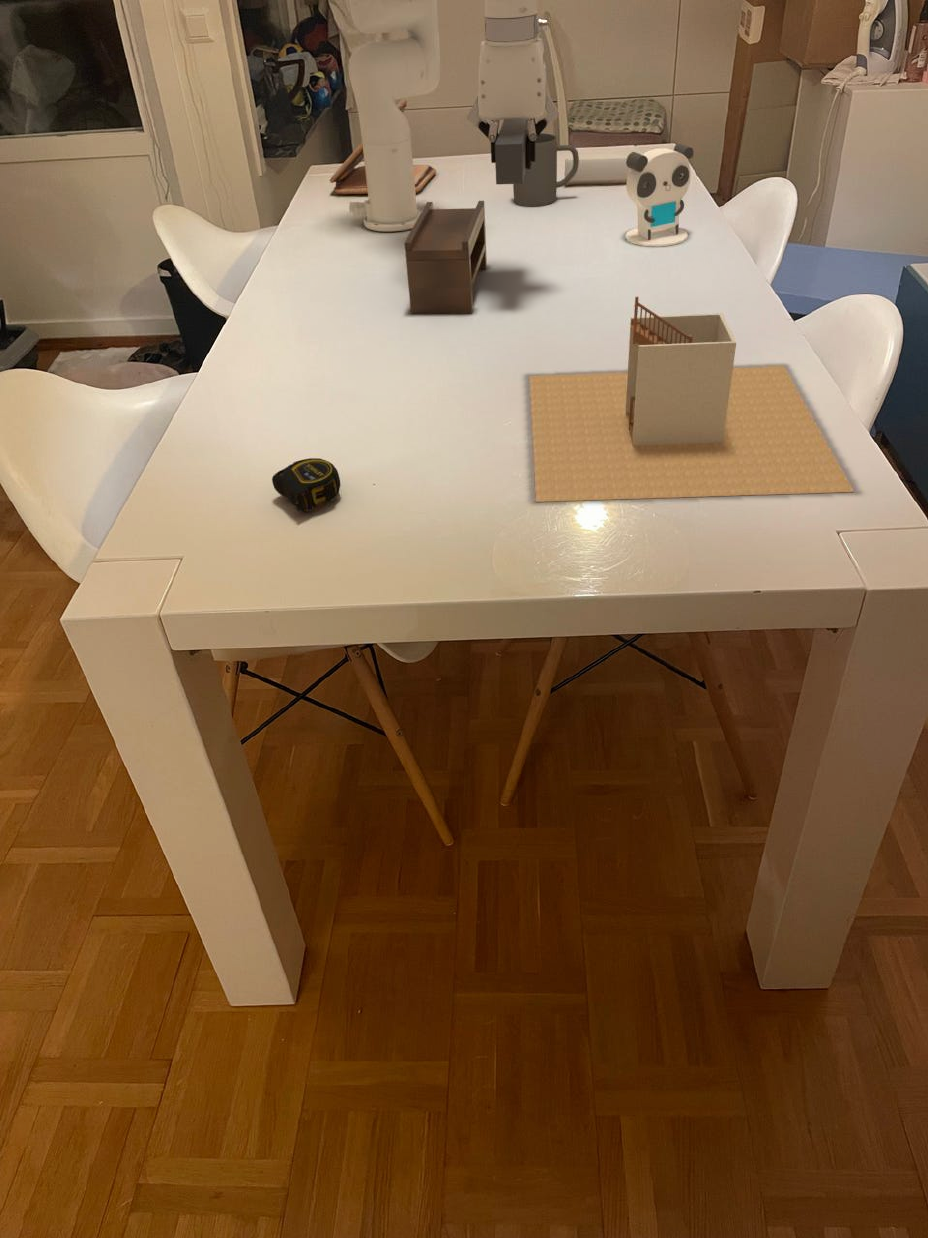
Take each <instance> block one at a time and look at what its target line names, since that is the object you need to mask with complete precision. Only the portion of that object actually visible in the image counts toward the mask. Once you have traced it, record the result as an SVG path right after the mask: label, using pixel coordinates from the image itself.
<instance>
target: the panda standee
mask: <svg viewBox="0 0 928 1238" xmlns="http://www.w3.org/2000/svg"><path fill="white" fill-rule="evenodd" d="M626 158H627V161H626V165H627V167H629V168H631V170H630V173H629V175H628V179H627V183H626V193H627V195H628V197H629V199H630V200H631V201H632V202H633V203H634V204H635V205H636V207H637V209H636V211H637V212H636V213H637V227H634V228H632V229H630V230H628V231H627V232H626V233H625V239H626V241H628V242H629V243H631V244H632V245H633V244H634V245H637V246H643V247H655V248H656V247H657V248H658V247H669V246H674V245H678V244H680V243H683V242H685V241H686V240H687V239H688V232H687V231H686V230H684V229H682V228H681V227H679V225H680V214H681V213H682V212H683V210H684V209H685V202H684V200H683V198H684V197H685V195H686V194H687V192H688V189H689V188H690V184H691V177H692V176H691V173H692V172H691V165H690V161H689V160H690V159H692V158H694V148H693V147H690V146H687V145H685V144H683V143H677V144H675V145H674V147H673V149H670V148H667V147H661V148H659V147H658V148H654V149H651V150H647V151H646V152H644V153H642V154H641V153H638V152H636V151H632V152H630V153H629V154H628V156H627V157H626Z"/></svg>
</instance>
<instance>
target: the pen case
mask: <svg viewBox="0 0 928 1238" xmlns="http://www.w3.org/2000/svg"><path fill="white" fill-rule="evenodd" d="M498 134H499V135H498V138H497V140H496V143H495V163H496V167H495V185H513V184H523V180H524V176H525V172H526V140H527V134H528V131H527V126H526V121H525V119H507V120H502V124H501V127H500V128H499V131H498ZM495 163H494V164H495Z"/></svg>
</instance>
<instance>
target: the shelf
mask: <svg viewBox="0 0 928 1238" xmlns="http://www.w3.org/2000/svg"><path fill="white" fill-rule="evenodd" d="M433 204H434V202H433V201H426V203H425V204H424V206H423V208H422V210H421V211H422V212H421V214H420V216H419V218H418V219H417V221H416V223H415V225H414V227H413V228H412V229H410V232H409V233H408V236H407V237H406V240H405V241H404V242H403V243H404V244H403V245H404V252H405V253H404V255H405V264H406V274H407V275H406V276H407V283H408V284H407V285H408V294H409V295H408V296H409V305H410V306H409V307H410V314H411V315H412V314H413V315H414V314H415V315H416V314H417V315H418V314H419V315H420V314H423V315H427V314H429V315H431V314H437V315H438V314H439V315H440V314H473V311H474V301H473V287H474V284H475V281H476V278H477V275H478V272H479V270H487V268H488V261H487V260H488V257H487V238H486V237H487V233H486V231H487V230H486V212H485V211H486V210H485V209H486V207H485V200H478V201H477V204H476V207H470V208H469V207H468V208H434V205H433Z"/></svg>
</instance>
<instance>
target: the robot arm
mask: <svg viewBox="0 0 928 1238" xmlns="http://www.w3.org/2000/svg"><path fill="white" fill-rule="evenodd" d="M348 5H349V11H350V17H351V20H352V23H353V26H354V27H355V29H356V30H357V31H359V32H360V33H362V34H367V35H376V34H385V33H393V32H399V31H406V34H407V37H405V38H398V39H389V40H383V41H382V40H381V41H374V42H370V43H366V44H364V45H361V46H359V47H357V48H356V49H355V50H354V51H353V52H352V53H351V55H350V57H349V60H348V65H347V67H348V68H347V69H348V70H347V71H348V78H349V81H350V85H351V89H352V91H353V92H352V93H353V97H354V100H355V105H356V109H357V115H358V120H359V127H360V128H359V129H360V137H361V142H362V145H363V154H364V158H363V161H364V166H365V171H366V180H367V188H368V194H367V196H368V199H367V200H364V202H359V201H353V202H351V201H350V202H349V206H348V207H349V212H350V213H352V214H353V216H355V215H364V216H365V217H364V218H363V225H364V227H365V228H366V229H368V230H371V231H375V232H383V233H384V232H385V233H387V232H390V233H391V232H403V231H406V230H407V231H408V230H412V228H413V227H414V225H415V223H416V221H417V219H418V218H419V216H420V214H421V212H422V210H420V209H418V206H417V192H415V181H414V169H413V165H414V158H413V157H414V156H413V145H412V134H411V127H410V124H409V121H408V119H407V117H406V116H405V114H404V112H403V113H402V112H401V110H400V109H399V108H398V107H397V103H396V101H397V100H398V101H399V100H403V99H407V98H411V97H412V98H413V97H419V96H424V95H427V94H430V93H432V92H434V91H435V90H436V89H437V88H438V86H439V84H440V80H441V75H442V62H441V61H442V60H441V59H442V58H441V45H440V30H439V29H440V28H439V12H438V10H439V9H438V0H348ZM483 5H484V6H483V7H484V33H485V34H484V36H485V38H484V39H485V40H482V41H481V42H480V48H479V60H478V78H477V81H478V82H477V84H478V85H477V88H478V89H477V97H476V99H475V100H474V103H473V104H472V105H471V108H470V110H469V111H468V114H467V116H466V120H467V122H468V123H470V124H471V125H473V126H474V127H475V128H477V129H479V131H480V132H481V133H482V134H483V135H484V136H485V137H486V138H487V140H488V141H489V142H490V161H491V164H494V165H495V168H496V163H495V143H496V140H497V138H498V135H499V129H500V123H501V122H500V121H504V120H507V119H525V121H526V126H527V131H528V134H527V140H526V168H527V169H530V168H531V162H535V139H536V138H537V137H538V135H539V134H540V133H542V132H543V131H544V130H545V129H546V128H547V127H548V126H550V124H552V123H554V121H556V120H557V119H558V118H559V115H560V112H559V110H558V108H557V107H556V105H555V104H554V101H553V100H552V99H551V96H550V95H549V94H548V93H549V92H548V91H547V90H548V89H547V88H548V87H547V86H548V85H547V65H546V55H545V47H544V42H543V38H540V37H538V34H540V32H543V31H547V30H548V19H547V18H545V19H544V18H542V17H540V16H538V0H483ZM545 110H546V112H547V113H546V114H545V115H544V113H545ZM543 115H544V116H543ZM542 116H543V117H542ZM540 117H541V118H540ZM537 118H540V119H538V121H536V119H537ZM487 120H489V121H490V123H489V122H488V121H487Z"/></svg>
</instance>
